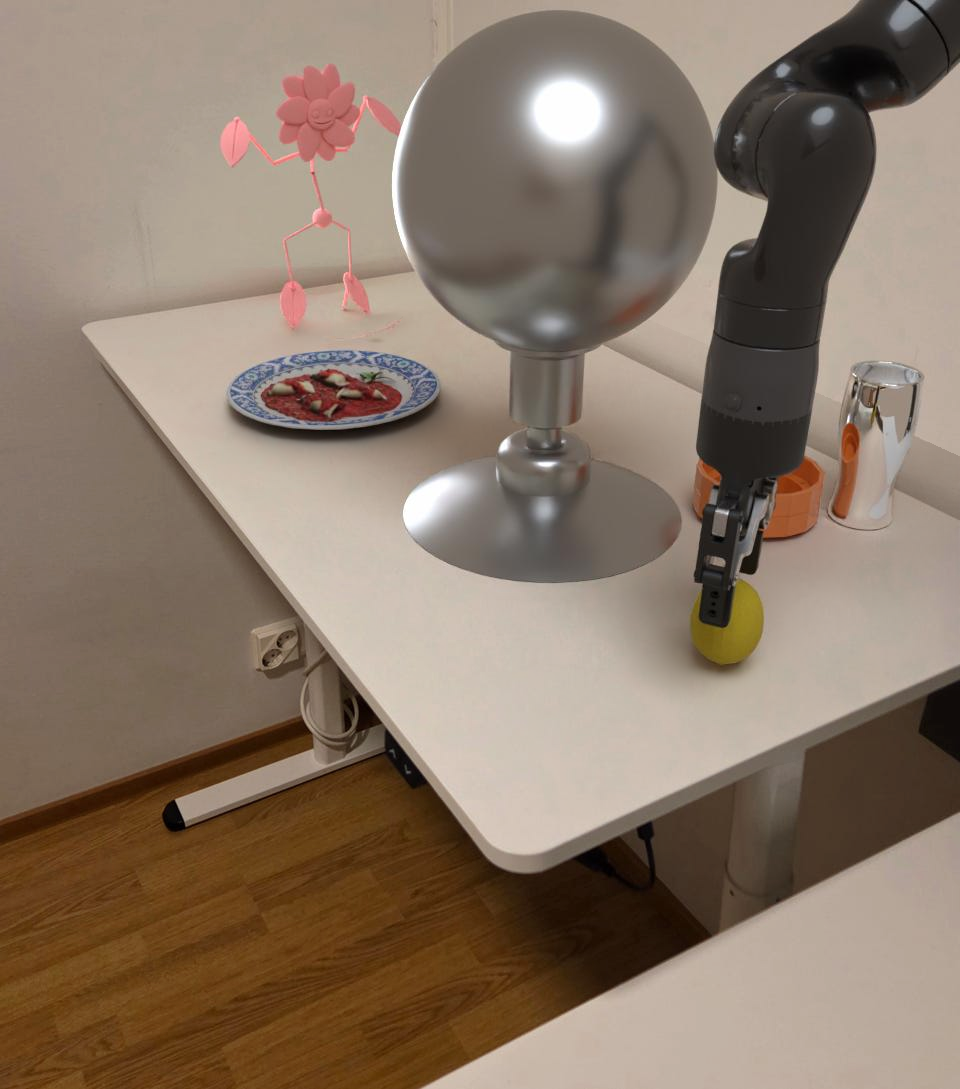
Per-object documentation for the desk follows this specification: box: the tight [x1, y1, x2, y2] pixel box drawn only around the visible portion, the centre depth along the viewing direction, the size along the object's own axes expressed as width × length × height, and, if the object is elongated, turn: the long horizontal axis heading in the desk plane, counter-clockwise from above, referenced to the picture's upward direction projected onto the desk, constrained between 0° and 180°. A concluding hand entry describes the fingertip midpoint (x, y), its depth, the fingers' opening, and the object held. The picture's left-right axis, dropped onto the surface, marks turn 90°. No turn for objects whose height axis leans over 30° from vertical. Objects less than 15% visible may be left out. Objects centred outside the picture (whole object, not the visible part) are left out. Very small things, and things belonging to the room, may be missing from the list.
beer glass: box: [827, 360, 925, 531], centre depth 106 cm, size 7×7×15 cm
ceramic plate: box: [225, 349, 442, 431], centre depth 134 cm, size 26×26×3 cm
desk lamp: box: [391, 9, 719, 583], centre depth 99 cm, size 28×28×45 cm
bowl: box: [692, 454, 826, 539], centre depth 108 cm, size 12×12×5 cm
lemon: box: [689, 577, 765, 666], centre depth 85 cm, size 6×6×8 cm
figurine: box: [220, 63, 402, 337], centre depth 152 cm, size 15×26×35 cm, turn 122°
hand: (728, 596), depth 84 cm, fingers open, 8 cm apart
